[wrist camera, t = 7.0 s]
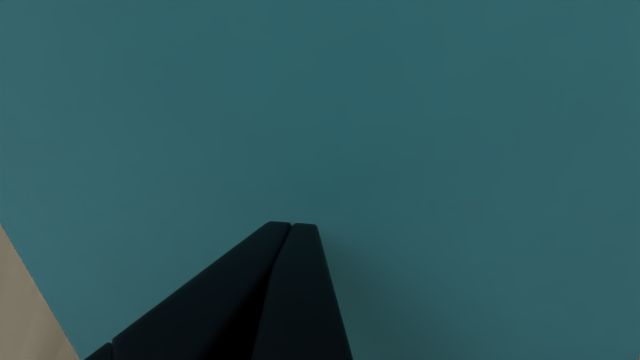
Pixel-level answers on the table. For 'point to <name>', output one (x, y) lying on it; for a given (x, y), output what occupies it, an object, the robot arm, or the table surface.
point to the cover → (335, 162)
